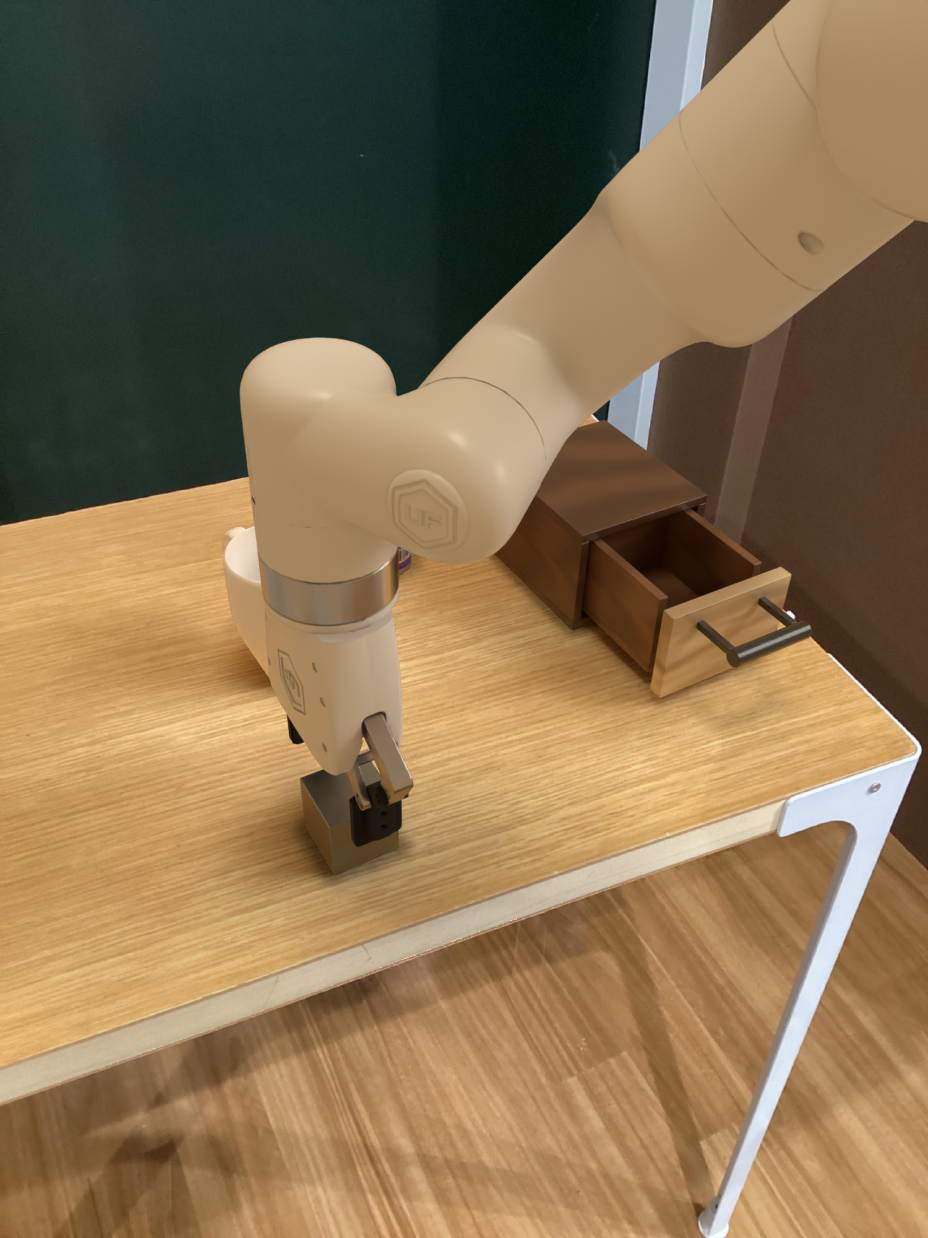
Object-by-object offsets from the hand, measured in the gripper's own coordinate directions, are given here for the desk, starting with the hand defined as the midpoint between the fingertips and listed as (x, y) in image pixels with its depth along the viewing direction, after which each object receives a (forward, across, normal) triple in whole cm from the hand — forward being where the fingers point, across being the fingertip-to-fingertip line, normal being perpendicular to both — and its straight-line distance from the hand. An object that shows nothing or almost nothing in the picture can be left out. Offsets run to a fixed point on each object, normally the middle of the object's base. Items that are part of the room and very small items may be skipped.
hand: (343, 783), depth 69 cm
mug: (+6, -19, +3) cm, 20 cm away
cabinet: (+5, -18, +32) cm, 37 cm away
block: (+5, 0, 0) cm, 5 cm away
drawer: (+4, -4, +32) cm, 33 cm away
